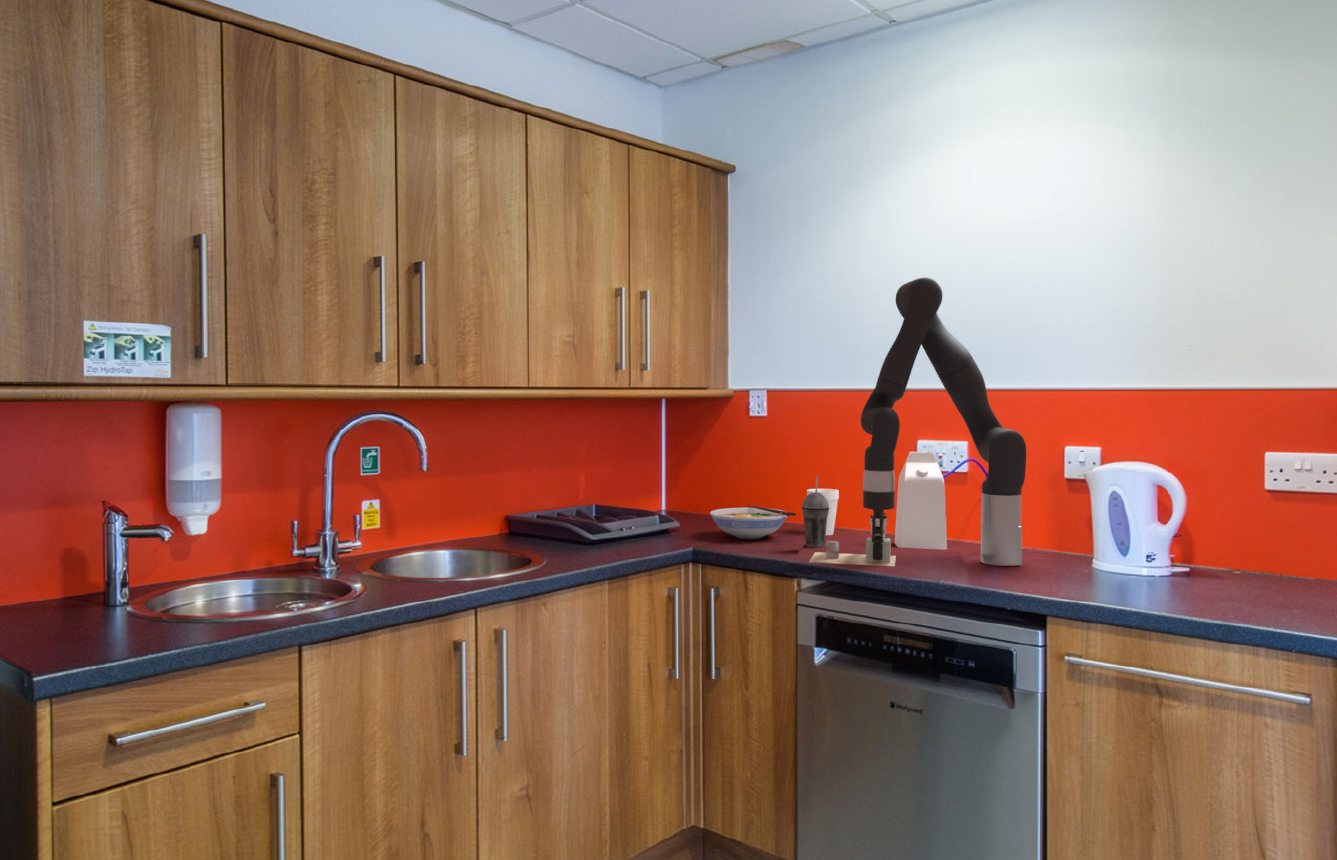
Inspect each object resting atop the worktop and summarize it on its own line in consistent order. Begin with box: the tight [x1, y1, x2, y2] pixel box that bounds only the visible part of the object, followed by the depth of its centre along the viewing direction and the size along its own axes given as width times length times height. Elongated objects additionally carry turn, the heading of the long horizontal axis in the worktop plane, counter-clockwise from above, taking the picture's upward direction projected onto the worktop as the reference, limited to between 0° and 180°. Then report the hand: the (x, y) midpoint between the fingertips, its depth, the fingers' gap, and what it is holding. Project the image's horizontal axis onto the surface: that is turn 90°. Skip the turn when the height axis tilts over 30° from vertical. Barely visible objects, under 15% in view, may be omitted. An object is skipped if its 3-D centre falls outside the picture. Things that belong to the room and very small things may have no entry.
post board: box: [808, 540, 897, 567], centre depth 222 cm, size 20×14×6 cm
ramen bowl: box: [709, 504, 797, 540], centre depth 264 cm, size 25×23×8 cm
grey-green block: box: [865, 536, 892, 563], centre depth 220 cm, size 6×6×5 cm
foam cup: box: [806, 488, 840, 536], centre depth 271 cm, size 10×9×13 cm
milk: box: [894, 451, 948, 550], centre depth 247 cm, size 12×12×26 cm
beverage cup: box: [801, 475, 829, 548], centre depth 241 cm, size 7×7×20 cm
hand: (878, 557), depth 220 cm, fingers open, 6 cm apart
